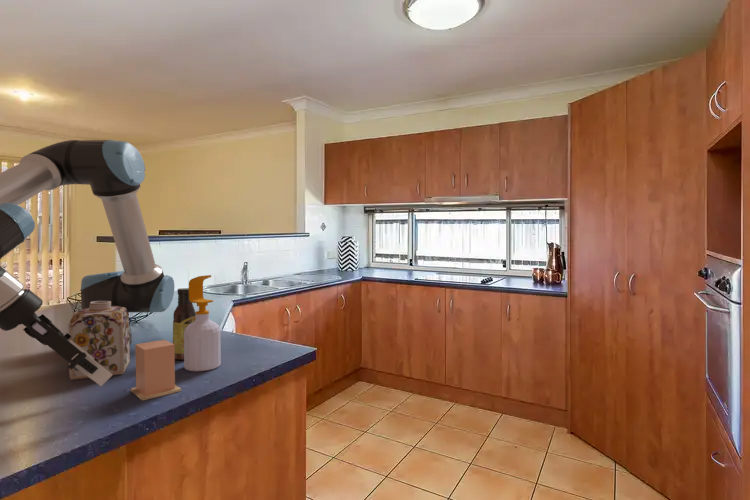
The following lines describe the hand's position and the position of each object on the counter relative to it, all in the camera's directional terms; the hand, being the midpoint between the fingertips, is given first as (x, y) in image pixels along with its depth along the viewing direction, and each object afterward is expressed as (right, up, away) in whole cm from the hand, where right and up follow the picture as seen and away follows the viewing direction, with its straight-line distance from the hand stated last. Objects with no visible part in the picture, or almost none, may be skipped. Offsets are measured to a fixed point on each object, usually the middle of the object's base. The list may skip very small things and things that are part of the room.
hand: (97, 371), depth 88 cm
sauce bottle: (+3, -6, +34) cm, 35 cm away
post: (+8, -7, +8) cm, 13 cm away
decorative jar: (-13, -6, +22) cm, 26 cm away
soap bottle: (+11, -6, +26) cm, 29 cm away
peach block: (+8, -6, +8) cm, 13 cm away
